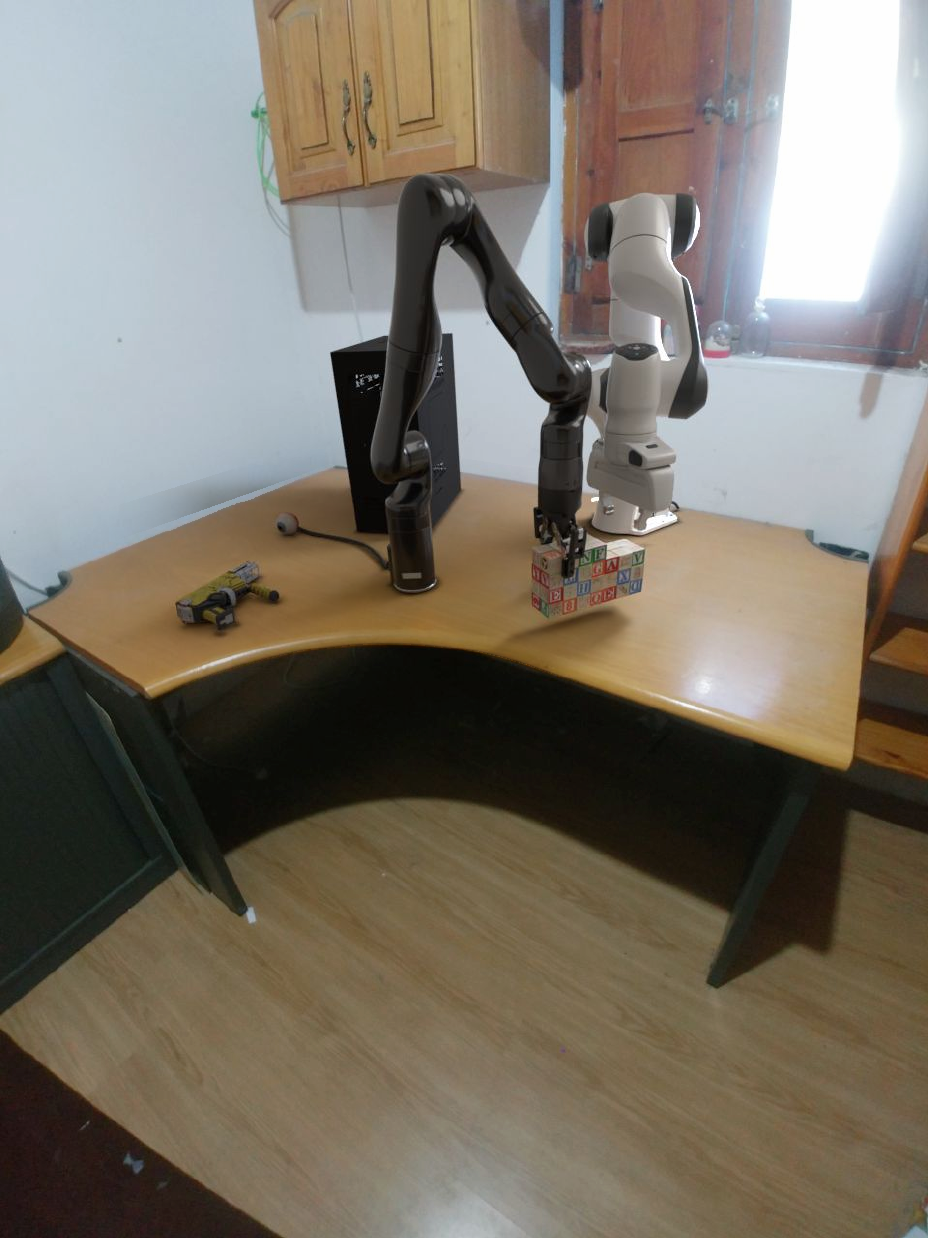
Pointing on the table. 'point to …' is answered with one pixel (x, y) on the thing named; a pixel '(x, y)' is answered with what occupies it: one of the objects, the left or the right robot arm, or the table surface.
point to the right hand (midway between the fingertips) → (623, 521)
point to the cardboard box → (429, 419)
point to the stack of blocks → (585, 576)
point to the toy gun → (222, 597)
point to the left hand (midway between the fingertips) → (557, 569)
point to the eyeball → (287, 523)
